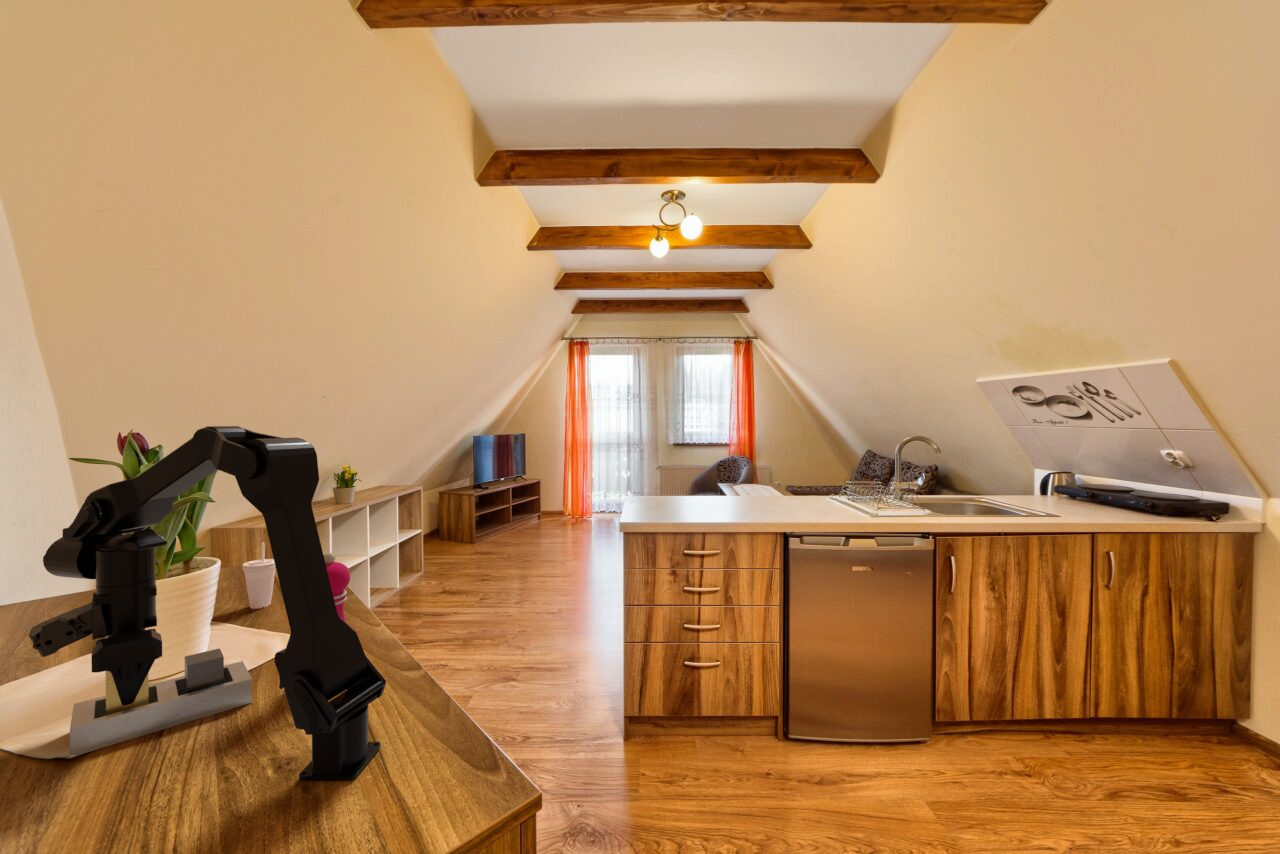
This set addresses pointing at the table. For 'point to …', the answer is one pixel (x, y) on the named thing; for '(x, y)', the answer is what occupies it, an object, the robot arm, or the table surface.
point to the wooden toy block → (114, 701)
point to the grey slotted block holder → (164, 703)
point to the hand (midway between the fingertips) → (127, 697)
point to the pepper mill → (337, 582)
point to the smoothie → (260, 580)
